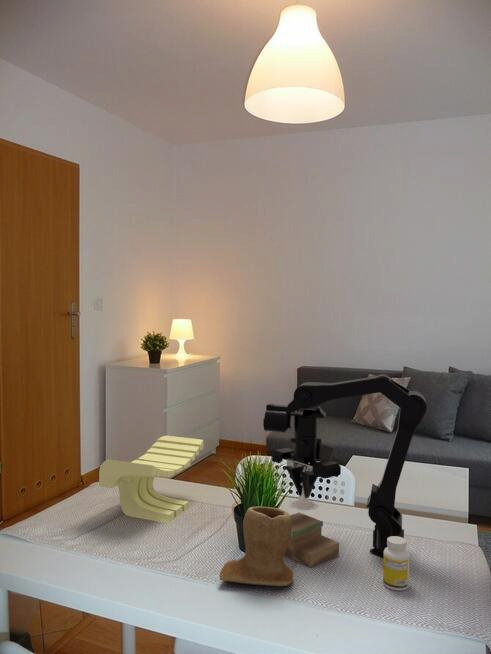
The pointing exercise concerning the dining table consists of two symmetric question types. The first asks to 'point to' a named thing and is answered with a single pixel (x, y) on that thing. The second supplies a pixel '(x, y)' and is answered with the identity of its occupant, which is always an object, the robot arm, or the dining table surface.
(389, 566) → the supplement bottle
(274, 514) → the brown suede boot
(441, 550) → the dining table surface
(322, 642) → the dining table surface
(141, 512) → the slatted curved stool
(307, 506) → the chess piece
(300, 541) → the step stand
